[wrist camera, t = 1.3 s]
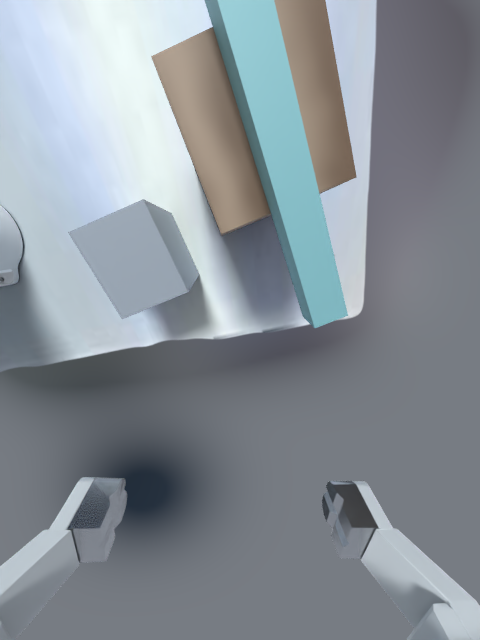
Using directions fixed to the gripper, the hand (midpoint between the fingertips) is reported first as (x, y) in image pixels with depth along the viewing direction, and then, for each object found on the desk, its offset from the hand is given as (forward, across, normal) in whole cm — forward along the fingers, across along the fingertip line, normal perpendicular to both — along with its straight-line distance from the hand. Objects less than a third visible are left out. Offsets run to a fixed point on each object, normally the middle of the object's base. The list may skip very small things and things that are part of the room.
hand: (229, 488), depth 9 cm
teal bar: (+15, +3, +15) cm, 21 cm away
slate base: (+40, -13, +5) cm, 43 cm away
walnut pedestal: (+41, +1, +17) cm, 44 cm away
